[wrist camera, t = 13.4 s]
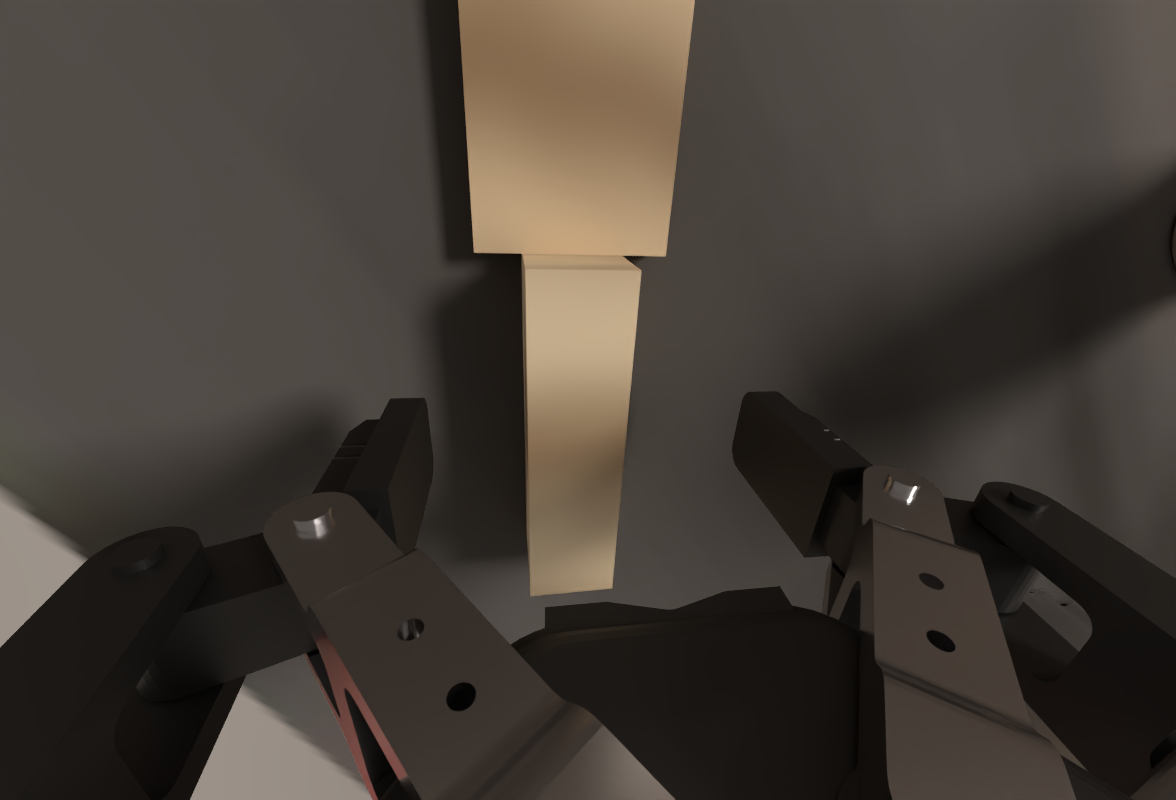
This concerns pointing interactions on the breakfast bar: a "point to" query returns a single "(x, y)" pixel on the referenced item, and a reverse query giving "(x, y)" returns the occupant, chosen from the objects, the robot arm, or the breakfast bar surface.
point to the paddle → (574, 235)
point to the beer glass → (1174, 244)
